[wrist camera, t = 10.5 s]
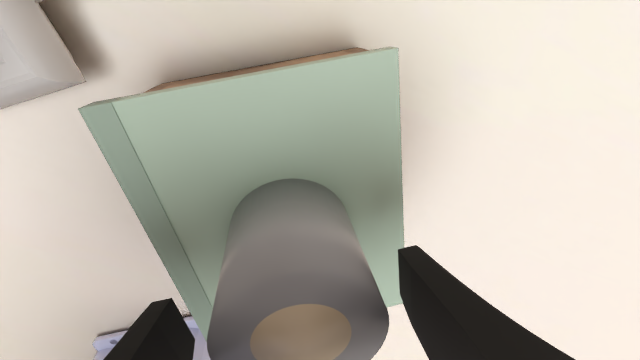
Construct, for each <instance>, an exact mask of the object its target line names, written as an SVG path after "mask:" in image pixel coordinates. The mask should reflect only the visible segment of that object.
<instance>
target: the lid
mask: <svg viewBox="0 0 640 360" xmlns="http://www.w3.org/2000/svg"><path fill="white" fill-rule="evenodd" d="M78 110H79V111H80V113H81V115H82V117H83V119H84V121H85V122H86V124H87V126H88V128H89V130H90V131H91V133H92V135H93V137H94V139H95V140H96V142H97V144H98V146H99V148H100V150H101V151H102V153H103V155H104V157H105V159H106V160H107V162H108V164H109V166H110V168H111V170H112V171H113V173H114V175H115V177H116V179H117V180H118V182H119V184H120V186H121V188H122V189H123V191H124V193H125V195H126V197H127V199H128V200H129V202H130V204H131V206H132V208H133V209H134V211H135V213H136V215H137V217H138V219H139V220H140V222H141V224H142V226H143V228H144V229H145V231H146V233H147V235H148V237H149V238H150V240H151V242H152V244H153V246H154V248H155V249H156V251H157V253H158V255H159V257H160V258H161V260H162V262H163V264H164V266H165V267H166V269H167V271H168V273H169V275H170V277H171V278H172V280H173V282H174V284H175V286H176V287H177V289H178V291H179V293H180V295H181V297H182V298H183V300H184V302H185V304H186V306H187V307H188V309H189V311H190V313H191V315H192V316H193V318H194V320H195V322H196V324H197V326H198V327H199V329H200V331H201V333H202V335H203V336H204V338H205V340H206V342H207V335H208V330H209V325H210V320H211V315H212V310H213V305H214V300H215V296H216V291H217V286H218V281H219V276H220V271H221V266H222V262H223V257H224V252H225V247H226V242H227V237H228V232H229V228H230V223H231V219H232V216H233V213H234V211H235V209H236V207H237V206H238V205H239V203H240V202H241V201H242V200H243V199H244V197H245V196H246V195H248V194H249V193H250V192H251V191H253V190H255V189H256V188H258V187H259V186H262V185H264V184H266V183H269V182H272V181H276V180H281V179H291V178H294V179H304V180H310V181H313V182H316V183H319V184H321V185H323V186H325V187H326V188H328V189H330V190H331V191H332V192H333V193H334V194H336V196H337V197H338V198H339V199H340V200H341V202H342V203H343V205H344V207H345V209H346V212H347V214H348V216H349V219H350V221H351V224H352V226H353V228H354V231H355V233H356V236H357V238H358V240H359V243H360V245H361V248H362V250H363V252H364V255H365V257H366V260H367V262H368V264H369V267H370V269H371V272H372V274H373V276H374V279H375V281H376V284H377V286H378V288H379V291H380V293H381V296H382V298H383V301H384V303H385V305H386V307H390V306H394V305H398V304H402V303H403V301H402V299H401V296H400V289H399V266H398V249H402V248H404V226H403V193H402V160H401V127H400V95H399V62H398V48H395V47H386V48H380V49H375V50H370V51H364V52H359V53H354V54H348V55H343V56H338V57H332V58H327V59H322V60H317V61H311V62H306V63H301V64H295V65H290V66H285V67H279V68H274V69H269V70H263V71H258V72H253V73H248V74H242V75H237V76H232V77H226V78H221V79H216V80H210V81H205V82H200V83H194V84H189V85H184V86H179V87H173V88H168V89H163V90H157V91H152V92H147V93H141V94H136V95H131V96H125V97H119V98H114V99H109V100H103V101H98V102H93V103H91V104H88V105H86V106H83V107H81V108H78Z"/></svg>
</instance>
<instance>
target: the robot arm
mask: <svg viewBox="0 0 640 360" xmlns="http://www.w3.org/2000/svg"><path fill="white" fill-rule="evenodd" d="M398 266H399V289H400V296H401V299H402V301H403V304H404V307H405V309H406V312H407V314H408V317H409V319H410V322H411V324H412V327H413V329H414V331H415V333H416V335H417V337H418V339H419V341H420V342H421V344H422V346H423V348H424V350H425V352H426V354H427V356H428V358H429V360H575V359H574V358H572V357H570V356H568V355H567V354H565V353H563V352H562V351H560V350H558V349H557V348H555V347H554V346H552V345H550V344H549V343H547V342H546V341H544V340H542V339H541V338H539V337H538V336H536V335H534V334H533V333H531V332H530V331H528V330H527V329H525V328H524V327H522V326H521V325H519V324H518V323H516V322H515V321H513V320H512V319H510V318H509V317H508V316H506V315H505V314H503V313H502V312H500V311H499V310H498V309H496V308H495V307H493V306H492V305H491V304H489V303H488V302H487V301H485V300H484V299H482V298H481V297H480V296H478V295H477V294H476V293H475V292H473V291H472V290H471V289H469V288H468V287H467V286H465V285H464V284H463V283H462V282H460V281H459V280H458V279H457V278H455V277H454V276H453V275H452V274H450V273H449V272H448V271H447V270H445V269H444V268H443V267H442V266H441V265H439V264H438V263H437V262H436V261H435V260H434V259H432V258H431V257H430V256H429V255H428V254H427V253H425V252H424V251H423V250H422V249H421V248H420V247H418V246H417V245H415V246H411V247H406V248H402V249H398ZM93 346H94V348H95V349H96V350H97V351H98V352H97V353H96V355H95V357H94V359H93V360H211V359H210V357H209V354H208V350H207V342H206V340H205V338H204V336H203V335H202V333H201V331H200V329H199V327H198V326H197V324H196V322H195V320H194V318H193V316H191V317H186V318H183V317H182V315H181V314H180V312H179V310H178V308H177V307H176V305H175V303H174V301H173V300H172V298H170V299H165V300H161V301H156V302H152V303H151V304H150V305H149V306H148V307H147V308H146V310H145V311H144V312H143V313H142V314H141V315H140V317H139V318H138V319H137V320H136V321H135V322H134V324H133V325H132V326H131V327H130V328H129V330H126V331H122V332H117V333H113V334H108V335H103V336H99V337H97V338H95V340H94V342H93Z"/></svg>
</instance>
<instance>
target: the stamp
mask: <svg viewBox="0 0 640 360" xmlns="http://www.w3.org/2000/svg"><path fill="white" fill-rule="evenodd" d="M41 1H43V0H0V109H3V108H6V107H9V106H12V105H15V104H18V103H21V102H25V101H28V100H31V99H34V98H37V97H40V96H43V95H46V94H50V93H53V92H56V91H59V90H62V89H65V88H68V87H71V86H75V85H78V84H81V83H84V82H86V81H85V79H84V78H83V75H82V73H81V71H80V70H79V68H78V67H77V65H76V63H75V62H74V60H73V56H72V55H71V53H70V52H69V50H68V49H67V47H66V46H65V44H64V42H63V41H62V39H61V38H60V36H59V35H58V33H57V31H56V30H55V28H54V27H53V25H52V24H51V22H50V21H49V19H48V17H47V16H46V14H45V13H44V11H43V10H42V8H41V7H40V5H39V2H41Z"/></svg>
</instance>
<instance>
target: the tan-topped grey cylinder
mask: <svg viewBox="0 0 640 360" xmlns="http://www.w3.org/2000/svg"><path fill="white" fill-rule="evenodd" d="M388 327H389V315H388V311H387V308H386V305H385V303H384V301H383V298H382V296H381V293H380V291H379V288H378V286H377V284H376V281H375V279H374V276H373V274H372V272H371V269H370V267H369V264H368V262H367V260H366V257H365V255H364V252H363V250H362V248H361V245H360V243H359V240H358V238H357V236H356V233H355V231H354V228H353V226H352V224H351V221H350V219H349V216H348V214H347V212H346V209H345V207H344V205H343V203H342V202H341V200H340V199H339V198H338V197H337V196H336V194H334V193H333V192H332V191H331V190H330V189H328V188H326V187H325V186H323V185H321V184H319V183H316V182H313V181H310V180H304V179H294V178H291V179H281V180H276V181H272V182H269V183H266V184H264V185H262V186H259V187H258V188H256V189H255V190H253V191H251V192H250V193H249V194H248V195H246V196H245V197H244V199H243V200H242V201H241V202H240V203H239V205H238V206H237V207H236V209H235V211H234V213H233V216H232V219H231V223H230V228H229V232H228V237H227V242H226V247H225V252H224V257H223V262H222V266H221V271H220V276H219V281H218V286H217V291H216V296H215V300H214V305H213V310H212V315H211V320H210V325H209V330H208V335H207V350H208V354H209V357H210V359H211V360H371V359H372V358H373V357H374V355H375V354H376V353H377V352H378V350H379V349H380V348H381V346H382V344H383V342H384V340H385V338H386V335H387V332H388Z"/></svg>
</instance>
